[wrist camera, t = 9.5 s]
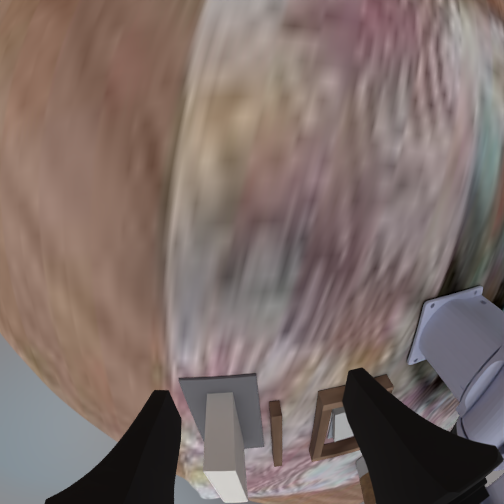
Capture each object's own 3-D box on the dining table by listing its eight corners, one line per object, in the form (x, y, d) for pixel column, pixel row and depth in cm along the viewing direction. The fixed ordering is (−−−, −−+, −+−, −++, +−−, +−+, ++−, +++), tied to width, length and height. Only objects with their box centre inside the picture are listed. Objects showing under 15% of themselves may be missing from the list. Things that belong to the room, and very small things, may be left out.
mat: (255, 373, 23) (256, 375, 22) (263, 444, 27) (264, 446, 27) (179, 378, 22) (178, 380, 22) (208, 448, 27) (207, 450, 27)
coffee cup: (354, 453, 31) (379, 527, 17) (399, 438, 32) (430, 504, 18) (344, 472, 34) (364, 535, 20) (385, 458, 35) (409, 517, 21)
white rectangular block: (232, 392, 23) (235, 470, 15) (243, 441, 26) (248, 501, 18) (207, 393, 23) (203, 471, 15) (223, 442, 26) (224, 502, 18)
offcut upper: (359, 399, 25) (362, 406, 24) (355, 428, 28) (358, 433, 27) (332, 408, 25) (335, 415, 24) (332, 436, 28) (334, 441, 27)
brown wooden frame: (386, 374, 24) (393, 386, 23) (361, 437, 29) (366, 447, 27) (269, 398, 24) (271, 414, 22) (272, 456, 29) (274, 467, 27)
